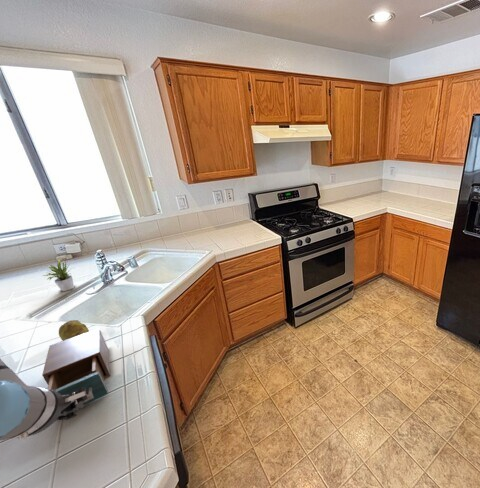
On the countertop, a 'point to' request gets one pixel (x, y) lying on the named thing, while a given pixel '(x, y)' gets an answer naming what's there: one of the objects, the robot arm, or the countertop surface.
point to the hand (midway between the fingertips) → (71, 411)
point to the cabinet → (77, 353)
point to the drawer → (80, 379)
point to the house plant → (61, 277)
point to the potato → (72, 329)
